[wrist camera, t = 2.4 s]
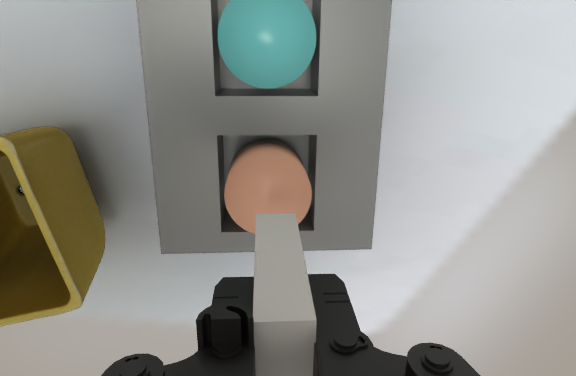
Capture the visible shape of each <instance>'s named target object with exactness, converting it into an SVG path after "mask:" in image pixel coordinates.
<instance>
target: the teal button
mask: <svg viewBox="0 0 576 376" xmlns="http://www.w3.org/2000/svg"><path fill="white" fill-rule="evenodd" d="M218 46H219V50H220V53H221V56H222V58H223V60H224V62H225V64H226V66H227V67H228V68H229V70H230V71H231V72H232V73H233V74H234V75H235V76H236V77H237V78H238V79H240V80H241V81H243V82H244V83H246V84H248V85H251V86H254V87H258V88H265V89H270V88H278V87H282V86H284V85H287V84H289V83H291V82H293V81H294V80H295V79H297V78H298V77H299V76H300V75H301V74H302V73H303V72H304V71H305V70H306V68H307V67H308V65H309V64H310V62H311V60H312V57H313V54H314V51H315V47H316V28H315V23H314V20H313V17H312V15H311V12H310V11H309V9H308V7H307V6H306V4H305V3H304V2H303V1H302V0H230V2H229V3H228V4H227V6H226V7H225V9H224V11H223V13H222V15H221V18H220V21H219V25H218Z"/></svg>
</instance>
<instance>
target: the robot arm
mask: <svg viewBox="0 0 576 376" xmlns="http://www.w3.org/2000/svg"><path fill="white" fill-rule="evenodd" d="M196 326H197V340H198V351H197V352H196V353H195V354H194V355H192V356H190V357H188V358H187V359H184V360H182V361H179V362H176V363H172V364H168V365H165V366H164V365H163V362H162V361H161V360H160V359H159V358H158V357H156V356H153V355H150V354H134V355H131V356H126V357H124V358H122V359H120V360H118V361H116V362H114V363H113V364H112V365H111V366H110V367H109V368H108V369H107V370H105V372H104V373H103V374H102V375H101V376H480V375H479V374H478V373H477V372H476V371H475V370H474V369H473V368H472V367H471V366H470V365H469V364H468V363H467V362H466V361H465V360H464V359H463V358H462V357H461V356H460V355H459V354H458V353H456V352H455V351H454V350H452V349H450V348H448V347H445V346H443V345H440V344H434V343H421V344H418V345H415V346H413V347H412V348H411V349H410V350H409V352H408V355H407V357H406V356H401V355H396V354H391V353H388V352H384V351H381V350H379V349H377V348H375V347H374V346H373V344H372V342H371V340H370V339H369V338H368V336H366V335H365V334H364V333H362V332H361V331H360V328H359V325H358V322H357V319H356V316H355V313H354V310H353V307H352V305H351V303H350V299H349V296H348V294H347V290H346V287H345V284H344V282H343V281H342V280H341V279H340V278H339V277H337V276H336V275H335V274H307V269H306V264H305V259H304V254H303V249H302V244H301V238H300V233H299V228H298V223H297V218H296V213H285V214H256V231H255V263H254V277H224V278H222V280H221V281H220V282H219V283H218V284H217V285H216V286H215V290H214V295H213V300H212V305H211V306H210V307H208V308H206V309H205V310H203V311H202V312H201V313H200V314H199V316H198V317H197V319H196Z"/></svg>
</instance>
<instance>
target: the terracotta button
mask: <svg viewBox="0 0 576 376" xmlns="http://www.w3.org/2000/svg"><path fill="white" fill-rule="evenodd" d="M224 198H225V204H226V208H227V210H228V213H229V214H230V216H231V218H232V219H233V220H234V221H235V222H236V223H237V224H238V225H239V226H240V227H241V228H243V229H245V230H246V231H248V232H251V233H253V234H255V231H256V214H285V213H296V218H297V223H298V224H299V223H300V222H301V221H302V220H303V218H304V217H305V216H306V214H307V212H308V210H309V207H310V204H311V198H312V190H311V185H310V182H309V179H308V176H307V173H306V170H305V167H304V165H303V162H302V160H301V158H300V156H299V155H298V154H297V152H296V151H295V150H294V149H292V148H291V147H290V146H288V145H287V144H285V143H283V142H280V141H277V140H272V139H262V140H257V141H254V142H251V143H249V144H247V145H246V146H244V147H243V148H242V149H240V150H239V151H238V152H237V154H236V155H235V156H234V158H233V160H232V162H231V164H230V168H229V172H228V177H227V181H226V185H225V191H224Z"/></svg>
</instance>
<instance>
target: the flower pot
mask: <svg viewBox="0 0 576 376" xmlns="http://www.w3.org/2000/svg"><path fill="white" fill-rule="evenodd" d="M20 186H21V187H22V189H23V192H24V194H21V193H20V192H19V190H18V188H19V187H20ZM104 248H105V230H104V224H103V220H102V217H101V214H100V211H99V208H98V205H97V203H96V201H95V198H94V196H93V193H92V191H91V188H90V186H89V183H88V180H87V178H86V175H85V173H84V170H83V168H82V165H81V163H80V160H79V157H78V155H77V152H76V149H75V147H74V145H73V142H72V141H71V139H70V137H69V136H68V135H67V134H66V133H65V132H64V131H63V130H61V129H59V128H56V127H37V128H32V129H27V130H23V131H18V132H13V133H9V134H5V135H0V326H4V325H9V324H14V323H19V322H24V321H29V320H33V319H38V318H43V317H48V316H53V315H58V314H62V313H66V312H69V311H72V310H75V309H78V308H80V307H81V306H82V303H83V301H84V298H85V296H86V294H87V291H88V289H89V287H90V284H91V282H92V280H93V278H94V275H95V273H96V271H97V268H98V266H99V264H100V261H101V259H102V256H103V252H104Z"/></svg>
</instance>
